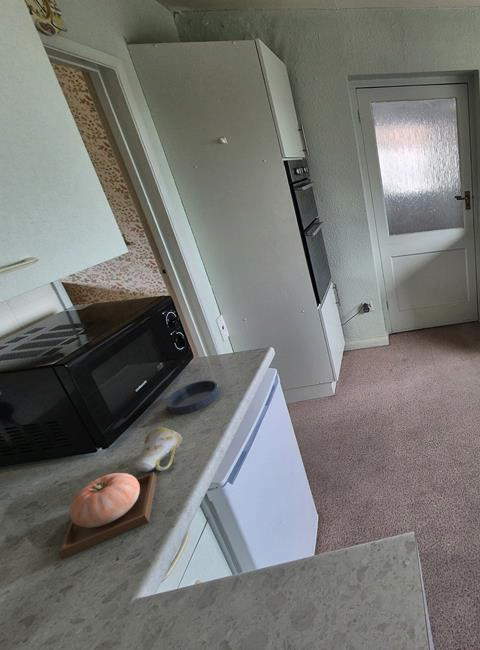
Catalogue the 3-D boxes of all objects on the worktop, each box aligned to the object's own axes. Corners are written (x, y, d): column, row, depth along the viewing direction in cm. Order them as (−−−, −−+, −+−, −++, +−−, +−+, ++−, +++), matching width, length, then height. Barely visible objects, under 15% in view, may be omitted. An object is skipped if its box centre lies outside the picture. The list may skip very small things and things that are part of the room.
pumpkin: (84, 509, 80) (65, 482, 77) (147, 481, 86) (131, 455, 82) (76, 548, 72) (54, 519, 69) (146, 515, 77) (129, 487, 74)
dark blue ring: (167, 420, 106) (163, 413, 105) (171, 397, 117) (168, 390, 116) (220, 402, 112) (217, 395, 111) (219, 381, 122) (217, 375, 121)
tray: (63, 558, 71) (57, 551, 70) (83, 506, 81) (78, 500, 80) (148, 521, 76) (145, 515, 76) (157, 477, 87) (153, 471, 86)
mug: (128, 479, 88) (122, 435, 88) (171, 464, 97) (165, 424, 98) (151, 475, 85) (145, 431, 86) (192, 460, 95) (186, 420, 96)
